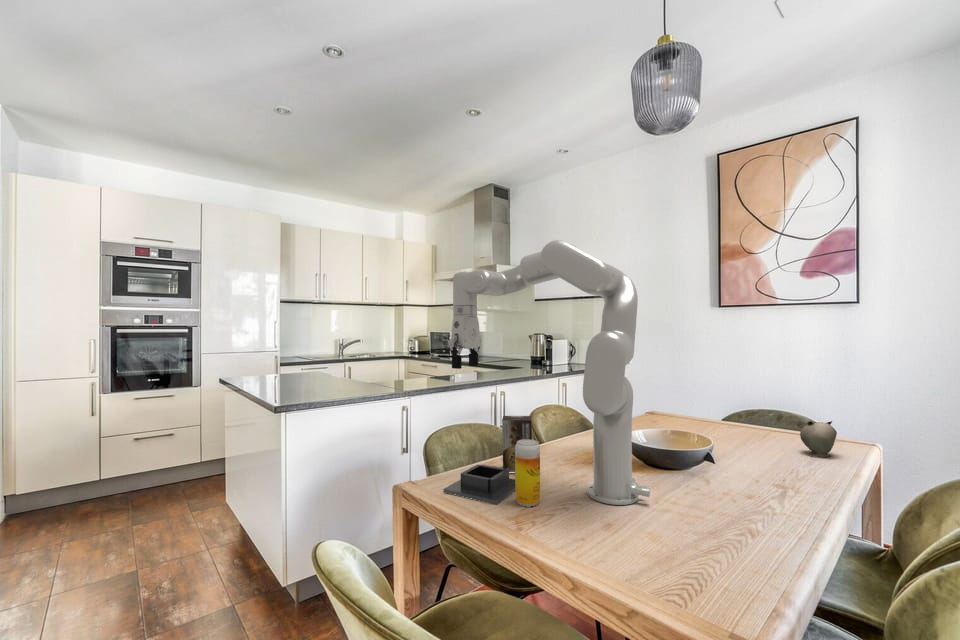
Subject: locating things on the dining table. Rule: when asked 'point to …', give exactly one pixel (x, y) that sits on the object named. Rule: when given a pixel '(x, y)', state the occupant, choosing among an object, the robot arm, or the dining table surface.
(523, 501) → the beer can
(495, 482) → the mount
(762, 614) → the dining table surface
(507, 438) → the coffee box
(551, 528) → the dining table surface
